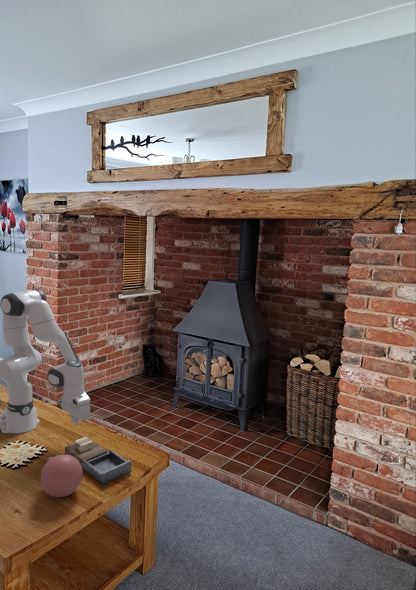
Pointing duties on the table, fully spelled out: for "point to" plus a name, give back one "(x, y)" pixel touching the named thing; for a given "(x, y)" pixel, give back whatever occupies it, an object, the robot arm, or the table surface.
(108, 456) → the box
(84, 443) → the block
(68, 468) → the balloon
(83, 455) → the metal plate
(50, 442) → the table surface
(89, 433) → the table surface
